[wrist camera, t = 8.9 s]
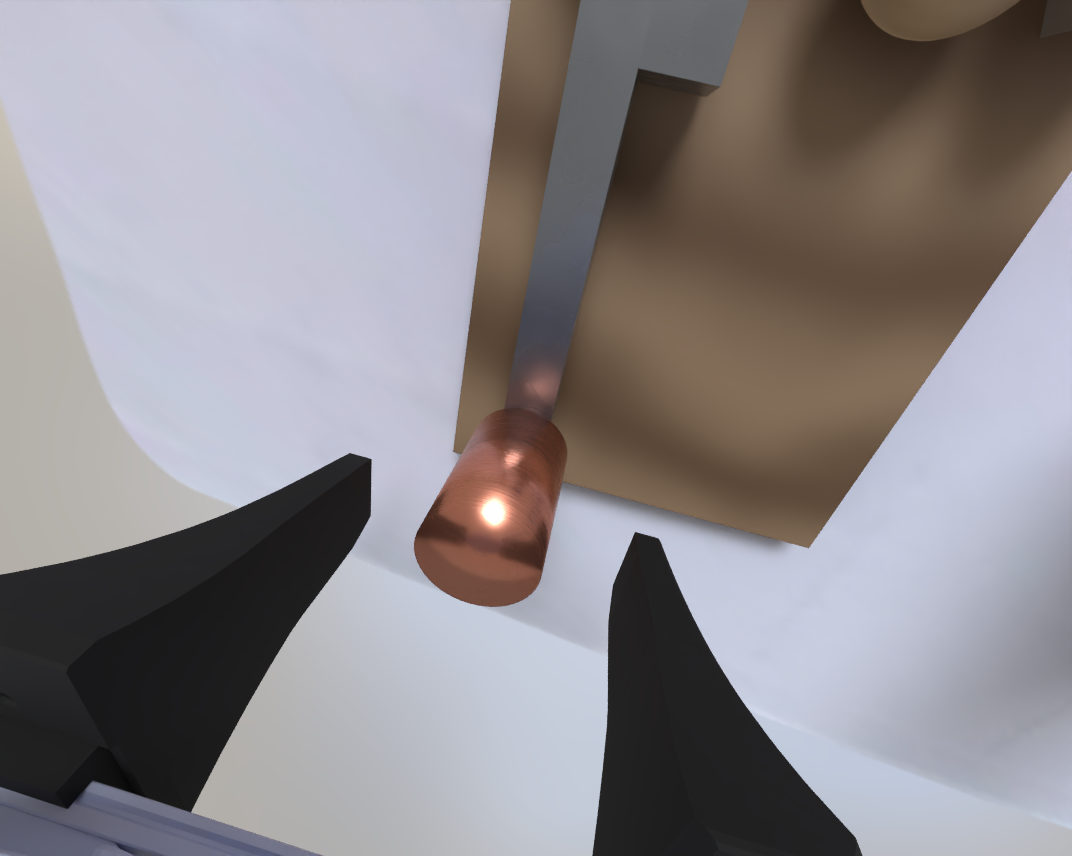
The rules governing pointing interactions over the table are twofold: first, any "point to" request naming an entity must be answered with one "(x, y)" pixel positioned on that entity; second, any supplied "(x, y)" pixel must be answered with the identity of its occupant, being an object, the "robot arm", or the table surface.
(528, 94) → the board
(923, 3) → the walnut
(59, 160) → the table surface
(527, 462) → the lever
